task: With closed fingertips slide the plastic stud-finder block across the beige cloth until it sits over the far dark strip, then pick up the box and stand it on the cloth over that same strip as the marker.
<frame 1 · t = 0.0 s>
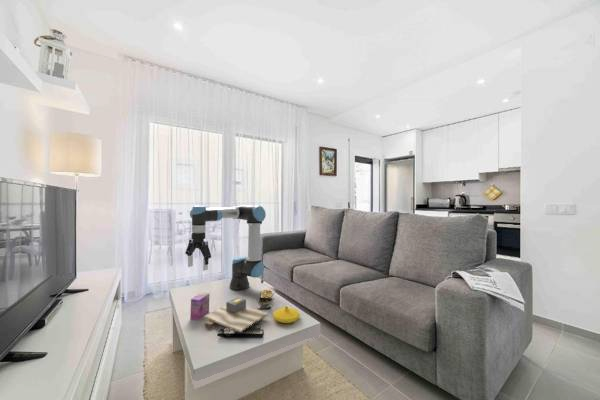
hand: (197, 268, 144), 28 cm above the table, fingers open, 13 cm apart
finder: (236, 309, 146), point 3 cm above the table, touching beige cloth
yellow pattypan squash: (286, 319, 142), on the table
box: (200, 316, 144), on the table
beige cloth: (236, 320, 139), on the table
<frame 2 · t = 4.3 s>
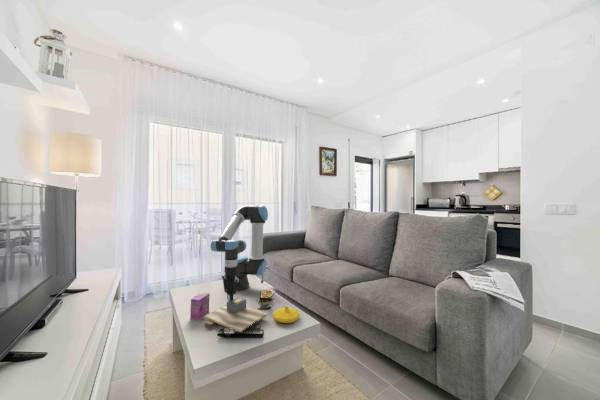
hand: (230, 304, 148), 5 cm above the table, fingers closed
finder: (236, 309, 146), point 4 cm above the table, touching gripper, beige cloth
everything else where it was.
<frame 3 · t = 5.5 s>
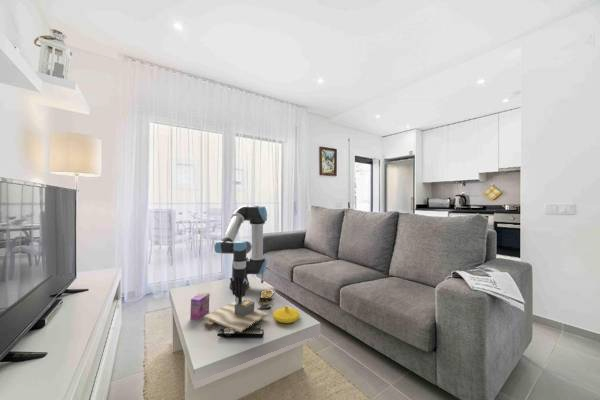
hand: (238, 307, 145), 5 cm above the table, fingers closed
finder: (244, 312, 143), point 4 cm above the table, touching gripper, beige cloth
everything else where it was.
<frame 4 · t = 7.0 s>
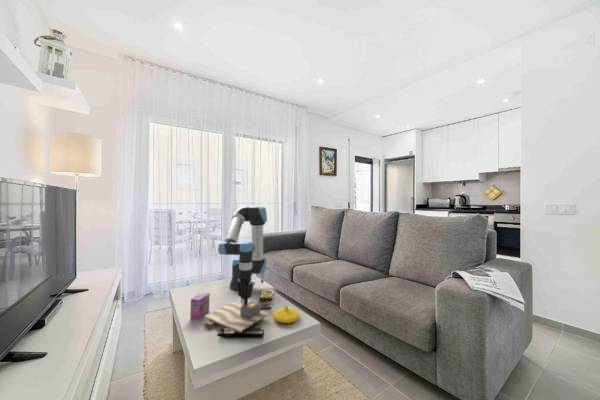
hand: (244, 309, 142), 5 cm above the table, fingers closed
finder: (250, 314, 140), point 3 cm above the table, touching gripper, beige cloth
everything else where it was.
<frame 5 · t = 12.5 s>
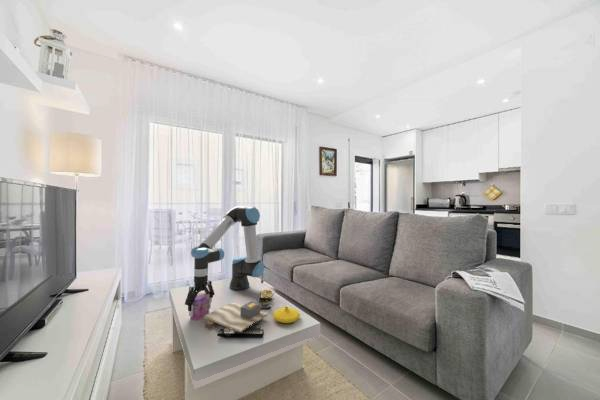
hand: (200, 312, 144), 2 cm above the table, fingers closed on box, 11 cm apart
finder: (250, 314, 140), point 3 cm above the table, touching beige cloth
box: (200, 316, 144), on the table, touching gripper
everything else where it was.
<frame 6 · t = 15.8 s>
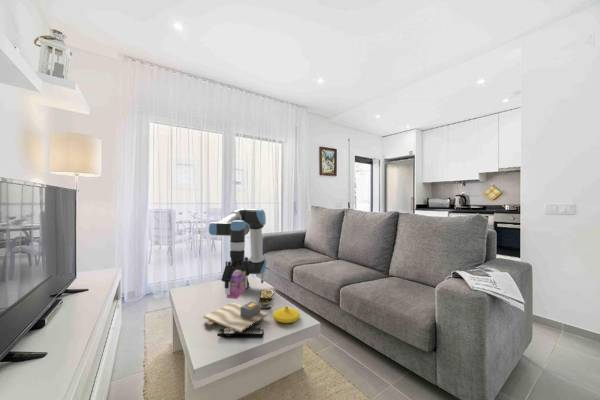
hand: (236, 290, 130), 20 cm above the table, fingers closed on box, 11 cm apart
box: (236, 295, 130), point 18 cm above the table, touching gripper
everything else where it was.
when the fingers open (7 cm above the table, at t = 19.0 s): box drops 1 cm, resting on beige cloth.
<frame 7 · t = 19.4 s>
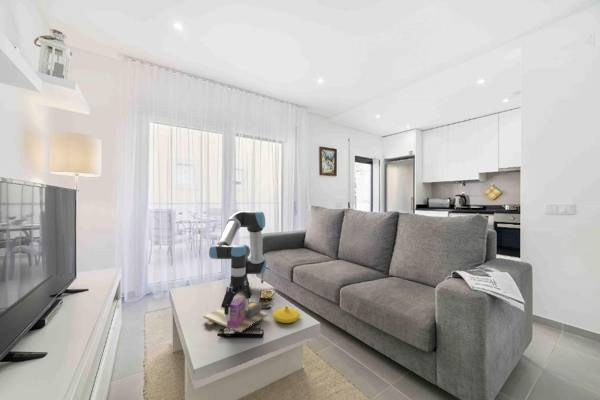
hand: (237, 314, 130), 8 cm above the table, fingers open, 13 cm apart
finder: (250, 313, 140), point 4 cm above the table, touching gripper, beige cloth
box: (236, 323, 130), point 3 cm above the table, touching beige cloth
everything else where it was.
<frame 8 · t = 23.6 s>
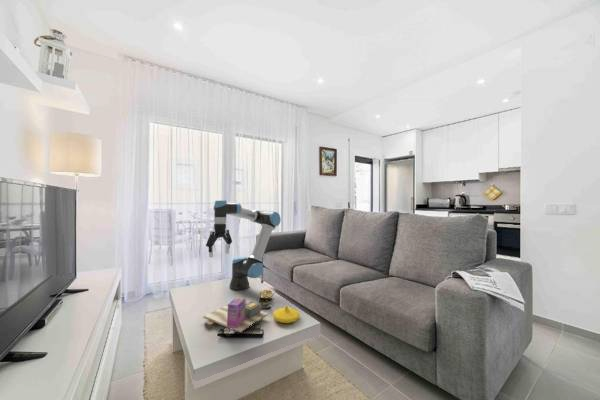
hand: (219, 255, 162), 32 cm above the table, fingers open, 13 cm apart
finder: (250, 313, 140), point 3 cm above the table, touching beige cloth
everything else where it was.
at the end: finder inside the target area on the beige cloth (0.7 cm from its centre), point 3.5 cm above the beige cloth's base; box inside the target area on the beige cloth (0.3 cm from its centre), point 3.3 cm above the beige cloth's base; box tilted 0° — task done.
